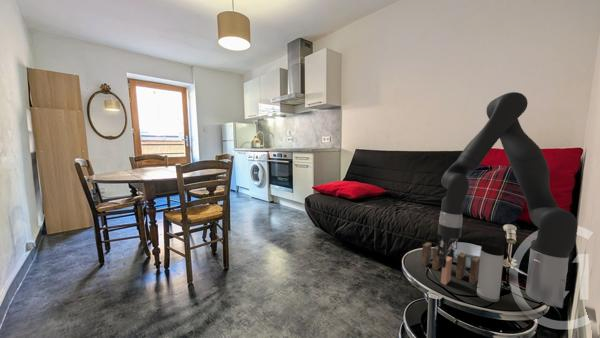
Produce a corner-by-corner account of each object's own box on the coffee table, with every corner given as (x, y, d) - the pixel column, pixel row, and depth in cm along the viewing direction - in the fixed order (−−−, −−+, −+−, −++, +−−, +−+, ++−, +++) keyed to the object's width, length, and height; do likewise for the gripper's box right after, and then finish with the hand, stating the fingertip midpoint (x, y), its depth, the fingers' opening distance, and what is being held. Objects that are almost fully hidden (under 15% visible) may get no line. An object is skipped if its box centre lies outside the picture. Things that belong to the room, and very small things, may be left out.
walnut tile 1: (430, 263, 108) (431, 243, 107) (425, 266, 105) (427, 245, 104) (425, 261, 109) (427, 241, 108) (421, 264, 106) (422, 244, 105)
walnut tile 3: (464, 275, 98) (466, 253, 97) (460, 279, 94) (462, 257, 94) (459, 273, 99) (461, 252, 98) (455, 277, 96) (457, 255, 95)
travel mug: (473, 295, 84) (478, 241, 82) (480, 289, 88) (485, 238, 86) (495, 305, 79) (501, 248, 77) (501, 298, 83) (507, 243, 81)
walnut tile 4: (477, 280, 94) (479, 257, 93) (474, 284, 91) (476, 261, 90) (472, 278, 96) (474, 256, 95) (468, 282, 92) (470, 259, 91)
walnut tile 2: (440, 267, 104) (442, 246, 104) (436, 270, 101) (438, 249, 100) (436, 265, 106) (438, 245, 105) (432, 268, 103) (433, 248, 102)
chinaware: (498, 275, 98) (500, 258, 98) (459, 272, 100) (461, 254, 100) (477, 259, 113) (479, 243, 112) (444, 256, 115) (445, 241, 115)
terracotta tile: (450, 280, 94) (452, 257, 93) (445, 285, 90) (447, 261, 90) (445, 278, 95) (447, 256, 94) (440, 282, 92) (442, 259, 91)
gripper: (455, 230, 83) (450, 273, 85) (467, 223, 93) (462, 262, 94) (432, 224, 89) (428, 265, 91) (446, 218, 98) (442, 255, 100)
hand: (446, 263), depth 92 cm, fingers open, 8 cm apart
